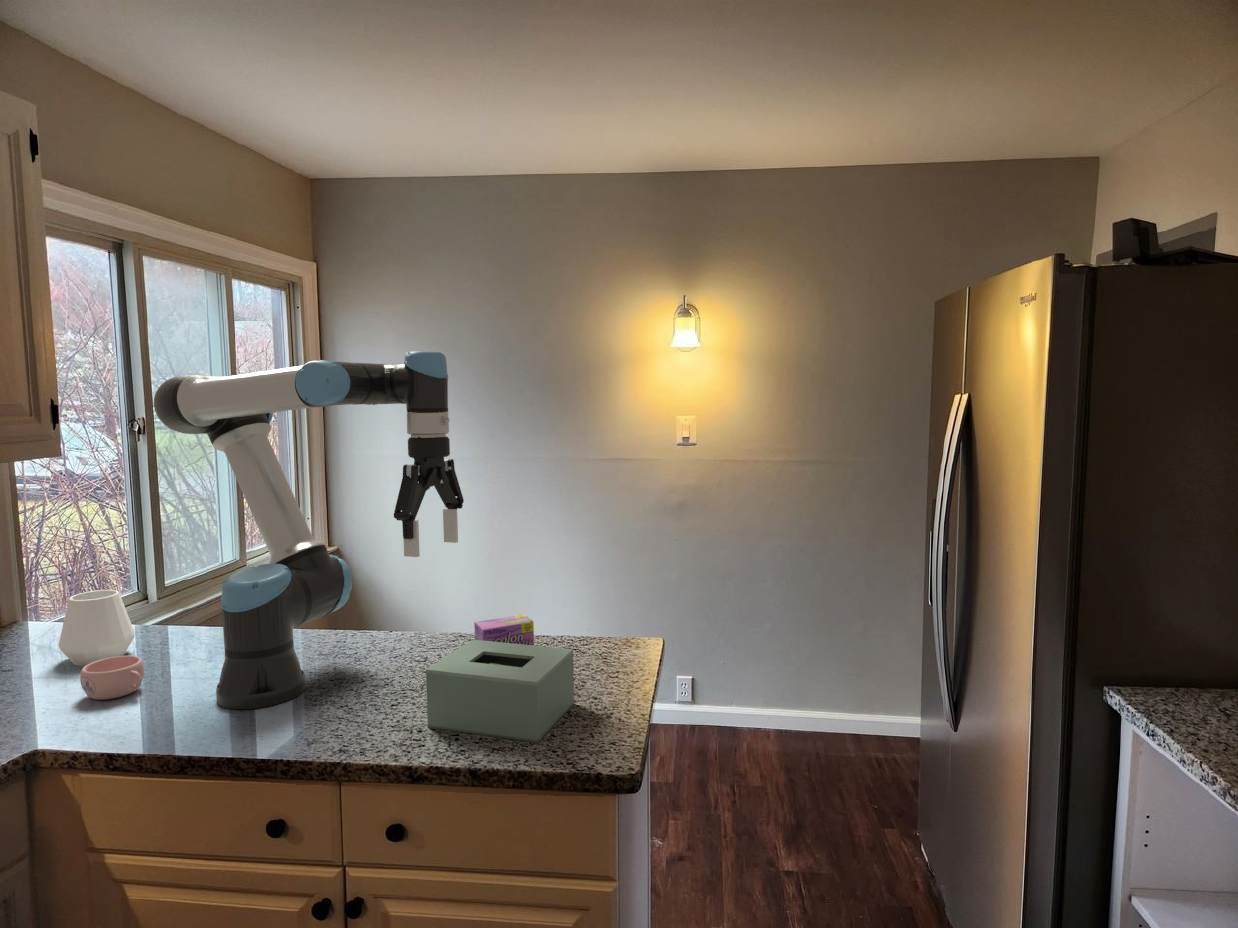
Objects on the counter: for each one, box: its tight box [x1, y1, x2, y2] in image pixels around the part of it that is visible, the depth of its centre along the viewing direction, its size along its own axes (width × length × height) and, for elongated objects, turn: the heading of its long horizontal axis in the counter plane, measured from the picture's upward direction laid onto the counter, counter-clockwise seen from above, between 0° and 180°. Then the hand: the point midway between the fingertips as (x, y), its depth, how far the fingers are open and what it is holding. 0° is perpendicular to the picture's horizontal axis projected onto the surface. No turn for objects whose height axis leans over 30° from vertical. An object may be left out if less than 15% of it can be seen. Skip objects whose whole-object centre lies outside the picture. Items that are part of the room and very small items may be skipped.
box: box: [473, 614, 535, 646], centre depth 146 cm, size 10×6×12 cm, turn 117°
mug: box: [79, 655, 145, 700], centre depth 140 cm, size 12×10×6 cm
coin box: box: [425, 639, 575, 744], centre depth 129 cm, size 20×16×10 cm
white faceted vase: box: [58, 589, 136, 667], centre depth 160 cm, size 13×13×14 cm
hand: (432, 549), depth 140 cm, fingers open, 13 cm apart
